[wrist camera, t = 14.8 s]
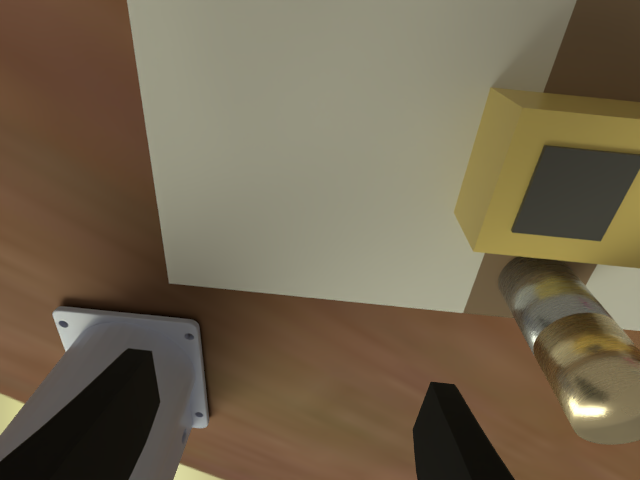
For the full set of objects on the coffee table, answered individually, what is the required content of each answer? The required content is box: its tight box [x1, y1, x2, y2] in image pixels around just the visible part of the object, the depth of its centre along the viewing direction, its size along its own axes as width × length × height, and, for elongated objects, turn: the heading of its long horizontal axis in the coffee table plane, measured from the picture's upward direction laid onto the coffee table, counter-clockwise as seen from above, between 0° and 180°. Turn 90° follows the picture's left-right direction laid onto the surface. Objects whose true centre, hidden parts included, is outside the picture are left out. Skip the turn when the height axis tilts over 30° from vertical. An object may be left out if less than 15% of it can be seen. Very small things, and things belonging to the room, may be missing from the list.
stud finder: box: [454, 87, 640, 268], centre depth 14 cm, size 5×9×3 cm, turn 85°
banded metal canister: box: [498, 256, 640, 444], centre depth 15 cm, size 3×3×7 cm
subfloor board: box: [127, 0, 640, 331], centre depth 16 cm, size 16×24×1 cm, turn 85°
